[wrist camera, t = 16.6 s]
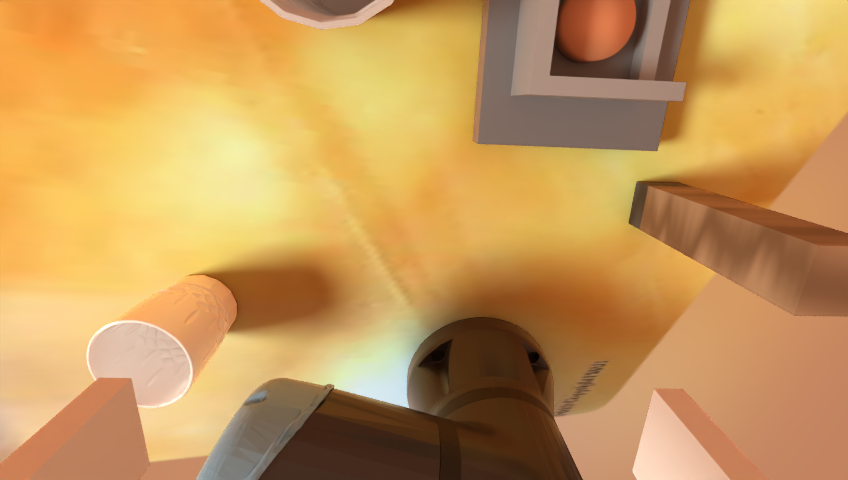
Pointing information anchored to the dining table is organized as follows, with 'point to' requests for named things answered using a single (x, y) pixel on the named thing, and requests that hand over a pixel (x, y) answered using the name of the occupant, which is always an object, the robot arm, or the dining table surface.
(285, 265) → the dining table surface
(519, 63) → the switch panel
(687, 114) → the dining table surface
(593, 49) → the button
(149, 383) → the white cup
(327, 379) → the dining table surface
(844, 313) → the brown wooden block
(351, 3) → the plastic cup
